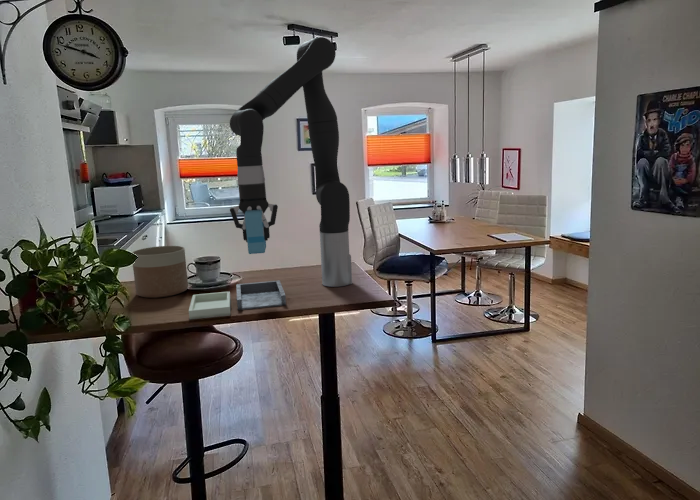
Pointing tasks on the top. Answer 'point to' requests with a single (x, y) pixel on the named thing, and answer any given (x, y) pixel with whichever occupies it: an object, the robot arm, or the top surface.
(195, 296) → the tray
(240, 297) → the bay
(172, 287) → the planter
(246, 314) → the top surface
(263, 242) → the blue flat block
